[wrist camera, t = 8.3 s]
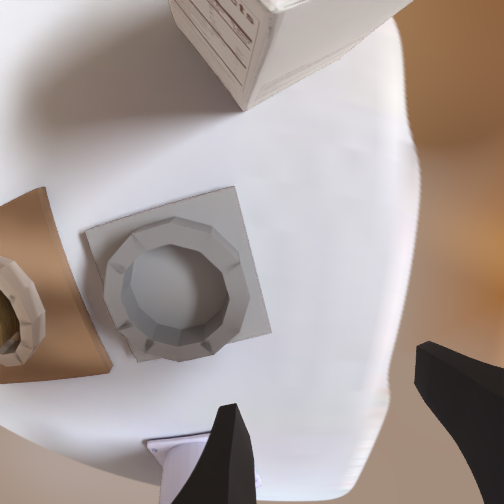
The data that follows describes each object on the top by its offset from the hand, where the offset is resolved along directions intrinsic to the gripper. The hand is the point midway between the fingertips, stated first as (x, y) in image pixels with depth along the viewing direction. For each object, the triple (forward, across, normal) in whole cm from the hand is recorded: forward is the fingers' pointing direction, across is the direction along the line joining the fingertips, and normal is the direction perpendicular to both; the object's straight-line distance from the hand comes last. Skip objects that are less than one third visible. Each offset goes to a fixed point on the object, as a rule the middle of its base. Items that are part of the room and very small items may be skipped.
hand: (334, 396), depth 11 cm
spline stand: (+9, +6, -3) cm, 12 cm away
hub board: (+9, +20, -4) cm, 22 cm away
